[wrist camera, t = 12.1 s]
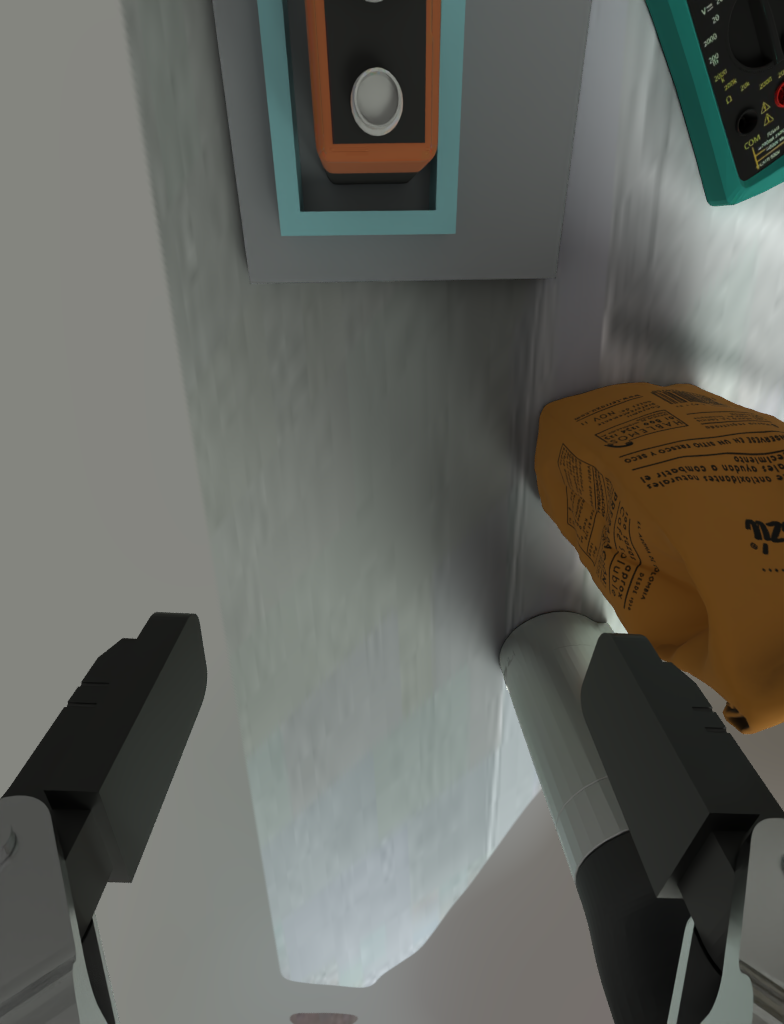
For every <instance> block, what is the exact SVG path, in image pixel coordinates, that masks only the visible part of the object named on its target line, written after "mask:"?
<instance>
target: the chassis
mask: <svg viewBox="0 0 784 1024" xmlns="http://www.w3.org/2000/svg"><path fill="white" fill-rule="evenodd" d="M212 3H213V10H214V18H215V25H216V33H217V40H218V48H219V55H220V63H221V70H222V78H223V85H224V93H225V100H226V108H227V115H228V123H229V130H230V138H231V145H232V153H233V160H234V168H235V175H236V183H237V190H238V198H239V205H240V213H241V220H242V228H243V235H244V243H245V250H246V258H247V265H248V273H249V280H250V284H258V283H315V282H371V281H427V280H483V279H539V278H556V270H557V263H558V255H559V248H560V240H561V232H562V225H563V217H564V209H565V202H566V194H567V186H568V179H569V171H570V163H571V156H572V148H573V140H574V133H575V125H576V118H577V110H578V102H579V95H580V87H581V79H582V72H583V64H584V56H585V49H586V41H587V33H588V26H589V18H590V10H591V3H592V0H441V27H440V77H439V126H438V146H437V151H436V153H435V155H434V157H433V158H432V159H431V161H430V162H428V163H427V164H426V165H425V166H424V167H423V168H422V169H421V170H420V171H419V172H418V173H417V174H416V175H415V176H414V177H413V178H412V179H411V180H410V181H409V182H408V183H403V184H349V185H336V184H333V183H331V182H330V180H329V179H328V177H327V175H326V172H325V170H324V167H323V165H322V162H321V160H320V158H319V155H318V153H317V149H316V142H315V131H314V119H313V105H312V92H311V79H310V65H309V52H308V39H307V25H306V12H305V0H212Z"/></svg>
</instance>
